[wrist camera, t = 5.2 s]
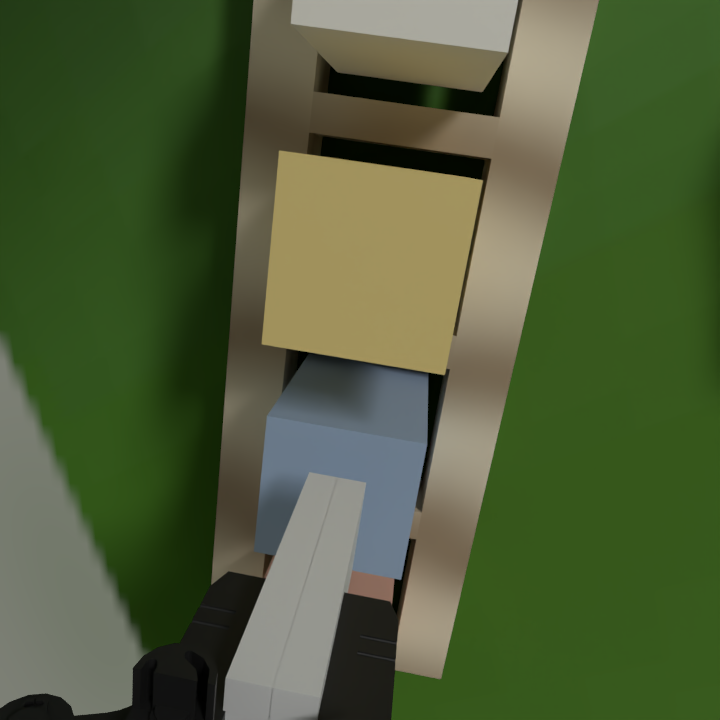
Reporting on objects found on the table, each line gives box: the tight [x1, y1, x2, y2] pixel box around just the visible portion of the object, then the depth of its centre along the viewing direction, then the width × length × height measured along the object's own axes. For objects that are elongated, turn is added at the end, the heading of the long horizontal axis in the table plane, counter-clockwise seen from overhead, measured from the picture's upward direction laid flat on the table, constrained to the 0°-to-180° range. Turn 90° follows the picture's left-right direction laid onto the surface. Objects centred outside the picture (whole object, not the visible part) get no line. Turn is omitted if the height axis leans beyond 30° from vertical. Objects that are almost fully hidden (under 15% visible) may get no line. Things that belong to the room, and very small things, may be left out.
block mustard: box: [262, 151, 483, 375], centre depth 17 cm, size 4×4×6 cm
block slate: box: [254, 353, 428, 580], centre depth 20 cm, size 4×4×6 cm
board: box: [211, 0, 599, 679], centre depth 22 cm, size 28×10×2 cm, turn 172°
